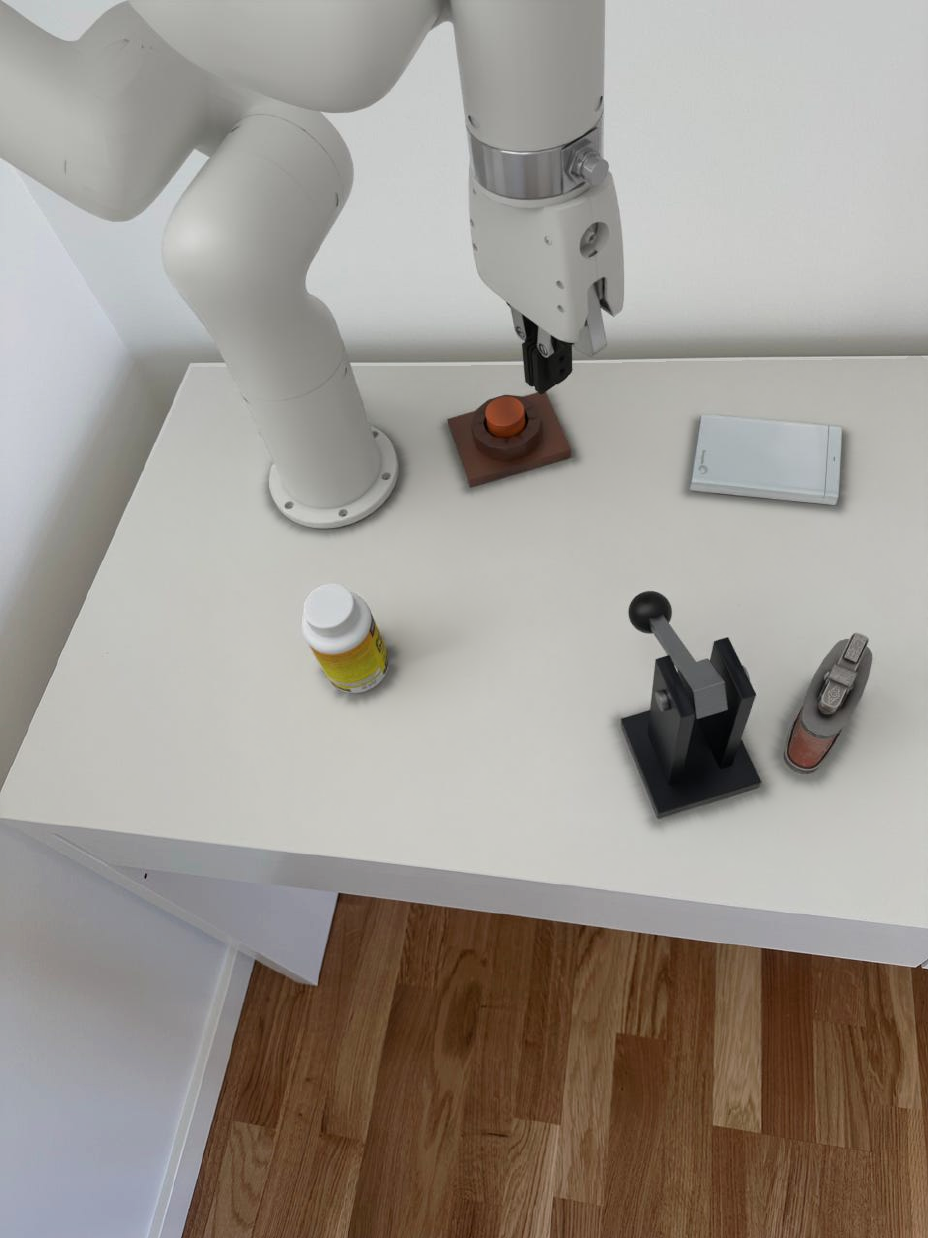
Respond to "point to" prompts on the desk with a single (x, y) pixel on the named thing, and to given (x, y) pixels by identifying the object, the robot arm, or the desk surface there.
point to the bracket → (693, 739)
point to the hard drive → (768, 459)
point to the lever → (680, 654)
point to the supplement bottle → (344, 638)
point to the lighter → (828, 704)
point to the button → (505, 417)
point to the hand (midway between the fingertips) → (549, 378)
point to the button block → (509, 441)
